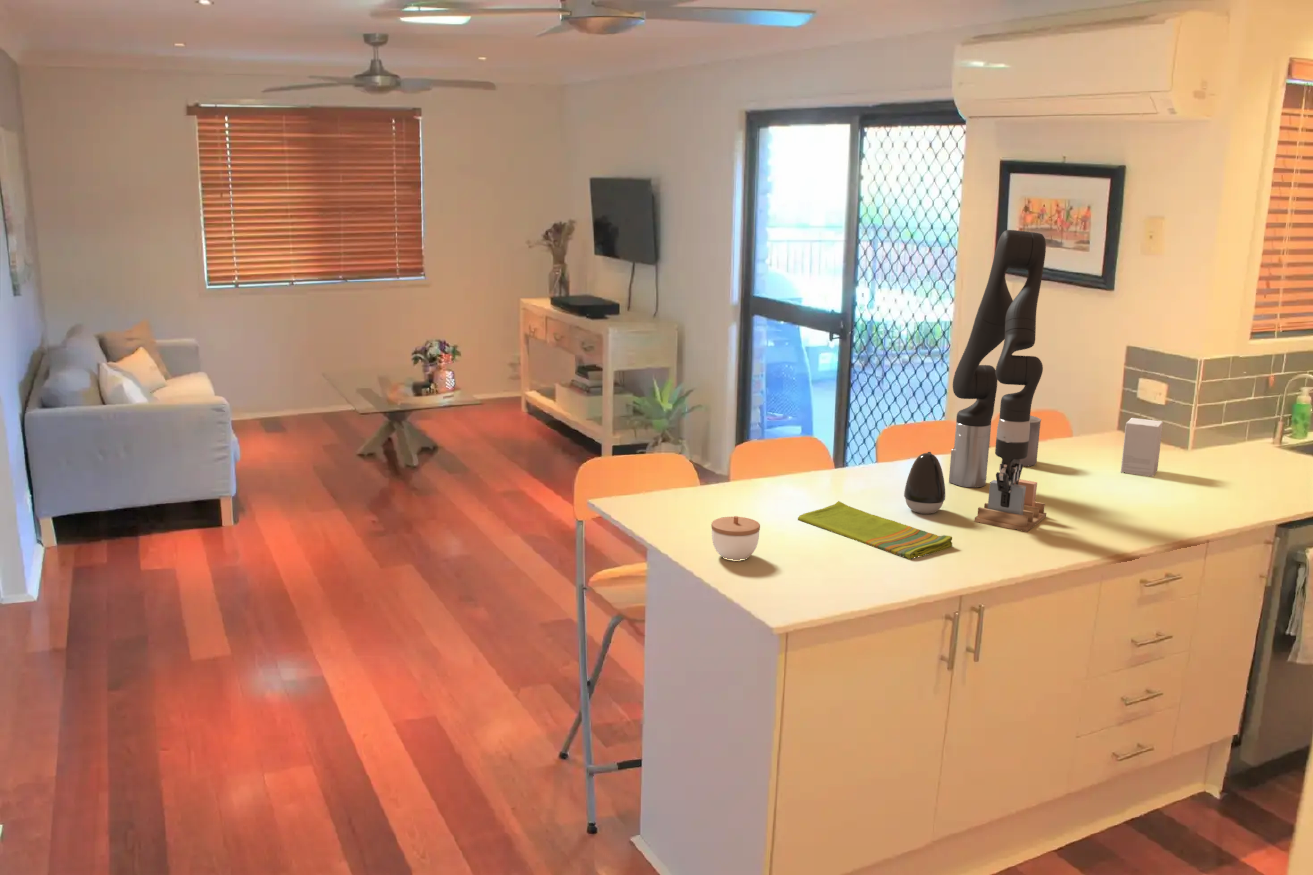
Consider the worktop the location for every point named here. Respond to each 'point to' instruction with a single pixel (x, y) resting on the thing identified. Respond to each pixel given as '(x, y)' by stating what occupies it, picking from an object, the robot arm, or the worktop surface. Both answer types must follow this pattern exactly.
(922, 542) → the dish towel
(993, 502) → the slate grey rectangular block
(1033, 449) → the pillar candle
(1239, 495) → the worktop surface
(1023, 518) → the dish rack
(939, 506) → the black egg-shaped piece
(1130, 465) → the supplement box
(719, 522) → the lidded jar
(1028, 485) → the terracotta plate
